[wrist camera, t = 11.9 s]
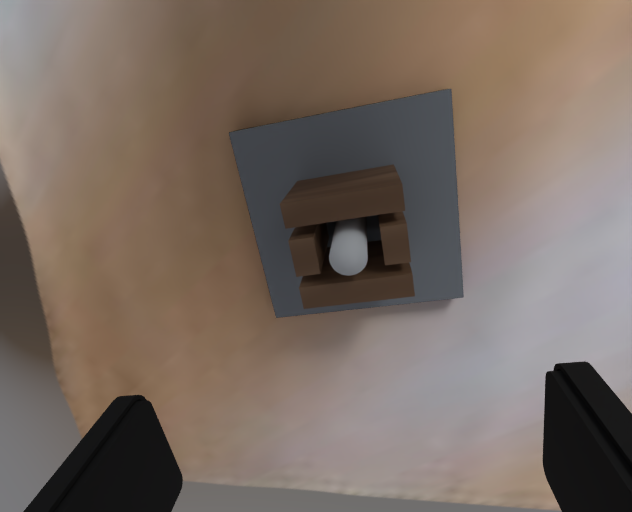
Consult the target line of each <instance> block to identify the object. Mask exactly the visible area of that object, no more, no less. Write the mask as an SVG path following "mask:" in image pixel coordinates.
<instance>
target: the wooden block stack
mask: <svg viewBox="0 0 632 512" xmlns="http://www.w3.org/2000/svg"><path fill="white" fill-rule="evenodd" d="M280 208H281V212H282V216H283V221H284V225H285V229H288V228H294V227H295V228H294V230H293V232H292V234H291V236H290V238H289V240H288V242H289V247H290V251H291V255H292V260H293V264H294V269H295V273H296V277H300V276H303V277H302V280H301V283H300V286H299V290H300V295H301V299H302V303H303V308H304V309H309V308H317V307H326V306H335V305H344V304H352V303H361V302H370V301H379V300H387V299H396V298H405V297H414V296H415V292H414V283H413V274H412V270H411V267H410V263H409V262H411V256H410V247H409V238H408V230H407V223H406V220H405V217H404V214H403V211H405V203H404V194H403V185H402V182H401V180H400V177H399V175H398V173H397V171H396V168H395V166H394V164H393V165H387V166H381V167H376V168H370V169H364V170H358V171H352V172H347V173H341V174H335V175H329V176H323V177H318V178H312V179H306V180H300V181H297V182H296V183H295V185H294V186H293V187H292V188H291V190H290V191H289V192H288V194H287V195H286V196H285V198H284V199H283V200H282V202H281V203H280ZM373 215H378V217H379V225H380V233H381V240H378V241H371V242H367V255H368V259H367V264H366V266H365V268H364V269H363V270H362V271H361V272H359V273H358V274H355V275H350V276H347V275H342V274H340V273H338V272H336V271H335V270H334V269H333V268H332V266H331V264H330V261H329V254H330V249H331V247H329V248H327V245H328V240H329V235H328V230H327V224H326V223H327V222H334V221H340V220H347V219H354V218H360V217H367V216H373Z"/></svg>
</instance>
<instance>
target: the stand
mask: <svg viewBox="0 0 632 512" xmlns="http://www.w3.org/2000/svg"><path fill="white" fill-rule="evenodd" d="M229 136H230V140H231V144H232V147H233V151H234V155H235V159H236V163H237V167H238V171H239V175H240V179H241V183H242V186H243V190H244V194H245V198H246V202H247V206H248V210H249V214H250V218H251V221H252V225H253V229H254V233H255V237H256V241H257V245H258V249H259V253H260V257H261V260H262V264H263V268H264V272H265V276H266V280H267V284H268V288H269V292H270V296H271V299H272V303H273V307H274V311H275V315H276V318H279V317H288V316H297V315H306V314H316V313H325V312H334V311H343V310H352V309H362V308H371V307H380V306H389V305H398V304H408V303H417V302H426V301H435V300H444V299H454V298H463V297H464V296H463V279H462V262H461V245H460V228H459V211H458V194H457V177H456V160H455V143H454V126H453V109H452V93H451V89H445V90H440V91H435V92H430V93H425V94H420V95H415V96H409V97H404V98H399V99H394V100H389V101H384V102H379V103H374V104H369V105H364V106H359V107H354V108H349V109H343V110H338V111H333V112H328V113H323V114H318V115H313V116H308V117H303V118H298V119H293V120H288V121H283V122H277V123H272V124H267V125H262V126H257V127H252V128H247V129H242V130H237V131H233V132H229ZM393 164H394V166H395V168H396V171H397V173H398V175H399V177H400V180H401V182H402V185H403V194H404V203H405V211H403V214H404V217H405V220H406V223H407V230H408V238H409V247H410V256H411V262H409V263H410V267H411V270H412V274H413V283H414V292H415V296H414V297H405V298H396V299H387V300H379V301H370V302H361V303H352V304H344V305H335V306H326V307H317V308H309V309H304V308H303V303H302V299H301V295H300V290H299V286H300V283H301V280H302V277H303V276H300V277H296V273H295V269H294V264H293V260H292V255H291V251H290V247H289V242H288V240H289V238H290V236H291V234H292V232H293V230H294V228H295V227H294V228H288V229H285V225H284V221H283V216H282V212H281V208H280V203H281V202H282V200H283V199H284V198H285V196H286V195H287V194H288V192H289V191H290V190H291V188H292V187H293V186H294V185H295V183H296V182H297V181H300V180H306V179H312V178H318V177H323V176H329V175H335V174H341V173H347V172H352V171H358V170H364V169H370V168H376V167H381V166H387V165H393ZM326 224H327V230H328V235H329V240H328V245H327V248H329V247H331V249H330V254H329V261H330V264H331V266H332V268H333V269H334V270H335V271H336V272H338V273H340V274H342V275H347V276H350V275H355V274H358V273H359V272H361V271H362V270H363V269H364V268H365V266H366V264H367V259H368V255H367V242H371V241H378V240H381V233H380V225H379V217H378V215H373V216H367V217H360V218H354V219H347V220H340V221H334V222H327V223H326Z"/></svg>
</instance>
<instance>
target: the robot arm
mask: <svg viewBox="0 0 632 512" xmlns="http://www.w3.org/2000/svg"><path fill="white" fill-rule="evenodd" d="M543 467H544V472H545V475H546V478H547V481H548V483H549V485H550V487H551V489H552V491H553V494H554V496H555V498H556V500H557V502H558V504H559V506H560V508H561V510H562V512H632V414H631V412H630V411H629V410H628V409H627V408H626V406H625V405H624V404H623V403H622V402H621V400H620V399H619V398H618V397H617V396H616V394H615V393H614V392H613V391H612V390H611V388H610V387H609V386H608V385H607V384H606V382H605V381H604V380H603V379H602V378H601V376H600V375H599V374H598V373H597V372H596V370H595V369H594V368H593V367H592V366H591V365H590V364H589V363H588V362H572V363H559V364H556V365H555V366H554V371H548V372H547V373H546V381H545V411H544V440H543ZM182 481H183V479H182V474H181V471H180V469H179V467H178V464H177V462H176V460H175V457H174V455H173V453H172V450H171V448H170V446H169V443H168V441H167V439H166V436H165V434H164V432H163V429H162V427H161V425H160V422H159V420H158V418H157V415H156V413H155V411H154V408H153V406H152V404H151V402H150V401H147V400H146V399H145V397H144V396H142V395H132V396H120V397H117V398H116V399H115V400H114V401H113V402H112V403H111V404H110V405H109V407H108V408H107V409H106V410H105V412H104V413H103V414H102V415H101V417H100V418H99V419H98V420H97V422H96V423H95V424H94V425H93V426H92V428H91V429H90V430H89V431H88V433H87V434H86V435H85V436H84V438H83V439H82V440H81V441H80V443H79V444H78V445H77V446H76V448H75V449H74V450H73V451H72V452H71V454H70V455H69V456H68V457H67V459H66V460H65V461H64V462H63V464H62V465H61V466H60V467H59V468H58V470H57V471H56V472H55V473H54V475H53V476H52V477H51V478H50V480H49V481H48V482H47V483H46V485H45V486H44V487H43V488H42V489H41V491H40V492H39V493H38V494H37V496H36V497H35V498H34V499H33V501H32V502H31V503H30V504H29V506H28V507H27V508H26V509H25V510H24V512H171V511H172V509H173V506H174V504H175V502H176V500H177V498H178V496H179V493H180V491H181V488H182Z"/></svg>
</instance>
